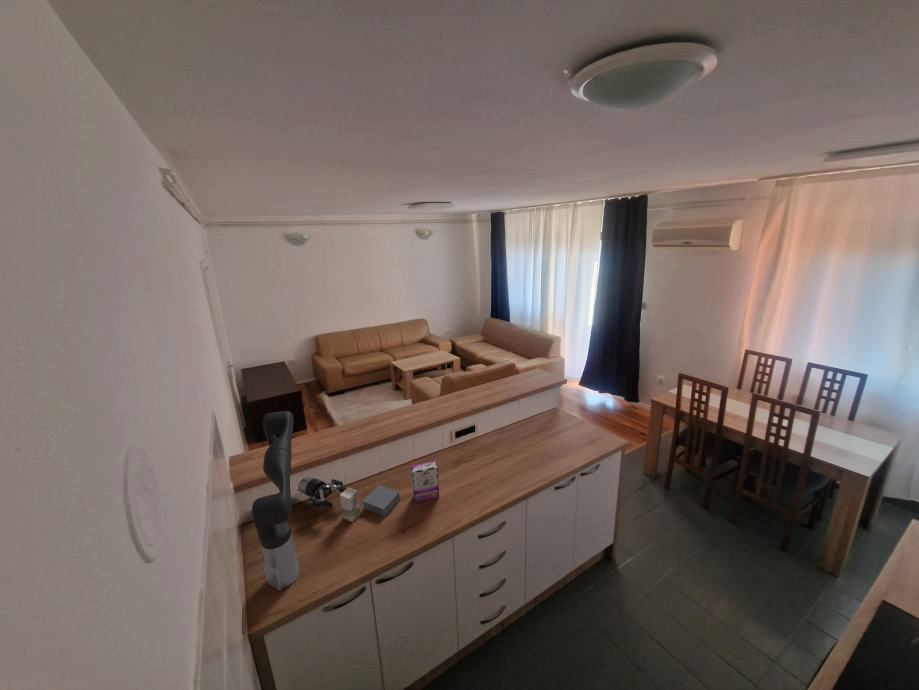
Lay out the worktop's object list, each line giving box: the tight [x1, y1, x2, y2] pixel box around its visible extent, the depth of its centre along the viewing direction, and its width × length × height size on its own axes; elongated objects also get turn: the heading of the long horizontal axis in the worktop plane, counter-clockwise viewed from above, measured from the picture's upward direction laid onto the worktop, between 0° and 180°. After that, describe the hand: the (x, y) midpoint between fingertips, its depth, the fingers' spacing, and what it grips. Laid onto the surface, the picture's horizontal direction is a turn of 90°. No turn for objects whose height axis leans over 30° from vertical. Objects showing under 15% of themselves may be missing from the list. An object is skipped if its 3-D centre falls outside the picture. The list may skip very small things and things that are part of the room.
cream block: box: [339, 487, 361, 523], centre depth 149 cm, size 5×5×12 cm
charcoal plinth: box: [362, 484, 401, 518], centre depth 157 cm, size 11×11×4 cm
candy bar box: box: [410, 460, 440, 504], centre depth 159 cm, size 11×5×16 cm, turn 105°
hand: (339, 498), depth 151 cm, fingers open, 8 cm apart
